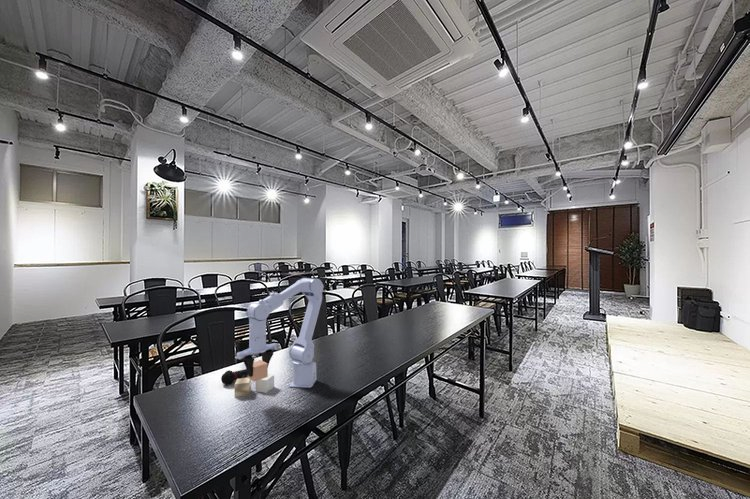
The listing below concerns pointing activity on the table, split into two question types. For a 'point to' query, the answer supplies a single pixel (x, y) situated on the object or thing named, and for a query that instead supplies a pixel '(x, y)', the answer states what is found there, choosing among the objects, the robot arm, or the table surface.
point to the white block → (265, 384)
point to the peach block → (259, 370)
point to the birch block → (242, 387)
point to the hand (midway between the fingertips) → (257, 373)
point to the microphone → (233, 376)
